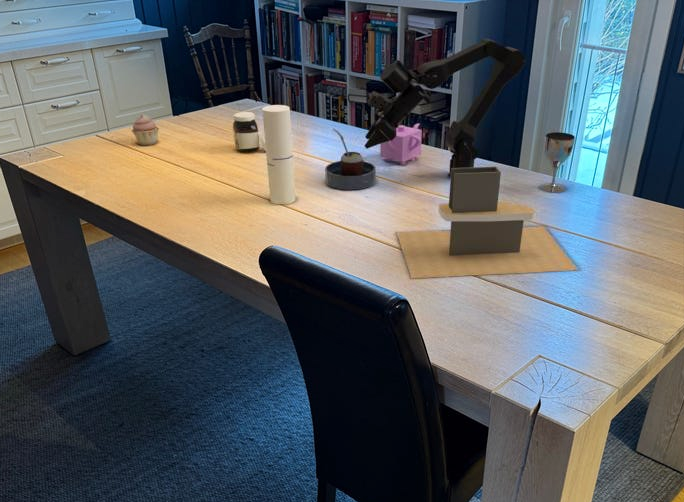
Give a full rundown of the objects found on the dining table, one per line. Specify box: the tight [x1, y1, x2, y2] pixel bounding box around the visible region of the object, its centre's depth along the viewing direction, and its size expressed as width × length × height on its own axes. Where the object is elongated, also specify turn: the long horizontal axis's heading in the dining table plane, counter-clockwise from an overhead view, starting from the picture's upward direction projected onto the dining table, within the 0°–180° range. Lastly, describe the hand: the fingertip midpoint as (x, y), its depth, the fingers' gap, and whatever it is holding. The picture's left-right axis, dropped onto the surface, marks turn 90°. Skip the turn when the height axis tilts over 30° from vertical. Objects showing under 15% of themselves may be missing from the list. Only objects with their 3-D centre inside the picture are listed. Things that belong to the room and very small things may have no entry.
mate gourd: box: [332, 127, 365, 176], centre depth 199 cm, size 8×8×15 cm
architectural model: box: [396, 166, 579, 279], centre depth 157 cm, size 38×25×20 cm, turn 96°
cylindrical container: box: [261, 104, 297, 205], centre depth 184 cm, size 7×7×25 cm
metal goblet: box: [539, 131, 576, 193], centre depth 193 cm, size 8×8×15 cm
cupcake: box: [131, 113, 160, 146], centre depth 234 cm, size 9×9×10 cm
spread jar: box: [232, 111, 266, 154], centre depth 227 cm, size 12×11×12 cm
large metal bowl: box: [324, 160, 377, 191], centre depth 202 cm, size 15×15×4 cm
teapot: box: [379, 123, 423, 166], centre depth 217 cm, size 15×13×11 cm
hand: (365, 142), depth 196 cm, fingers open, 9 cm apart
